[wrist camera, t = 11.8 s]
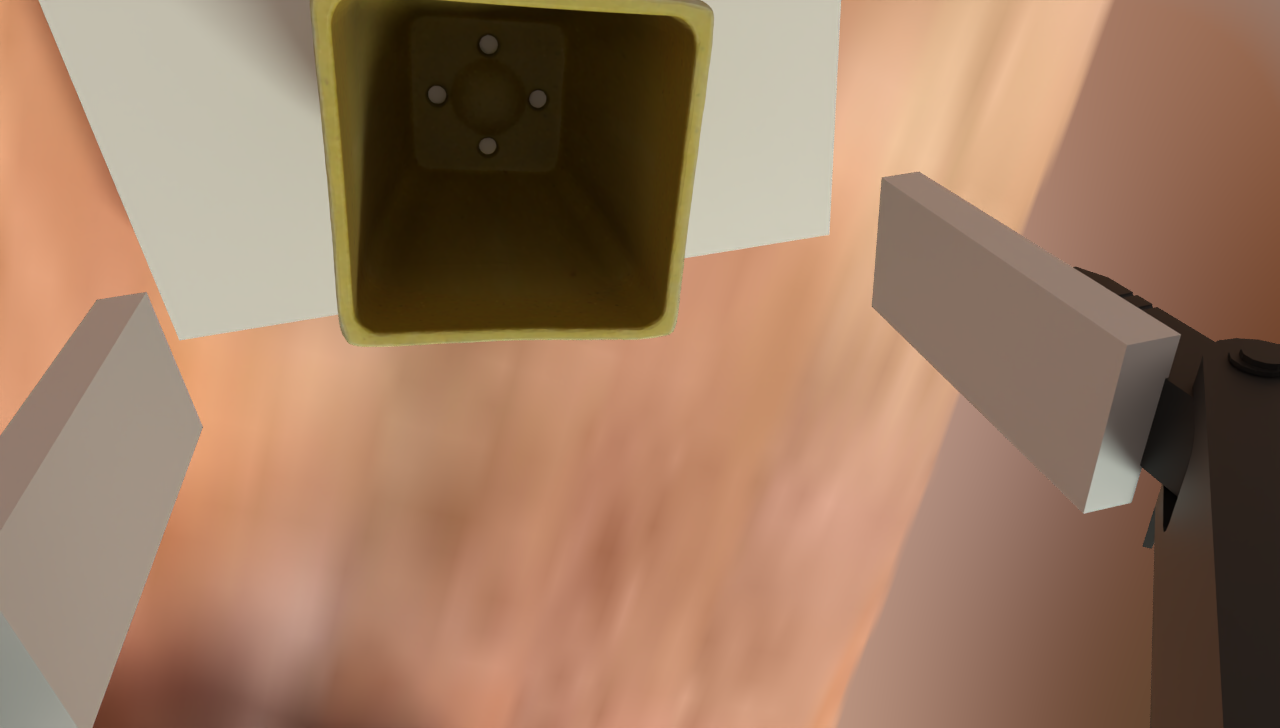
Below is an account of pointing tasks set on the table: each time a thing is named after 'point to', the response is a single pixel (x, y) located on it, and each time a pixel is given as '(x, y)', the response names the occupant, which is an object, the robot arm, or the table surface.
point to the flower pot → (510, 165)
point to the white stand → (290, 109)
